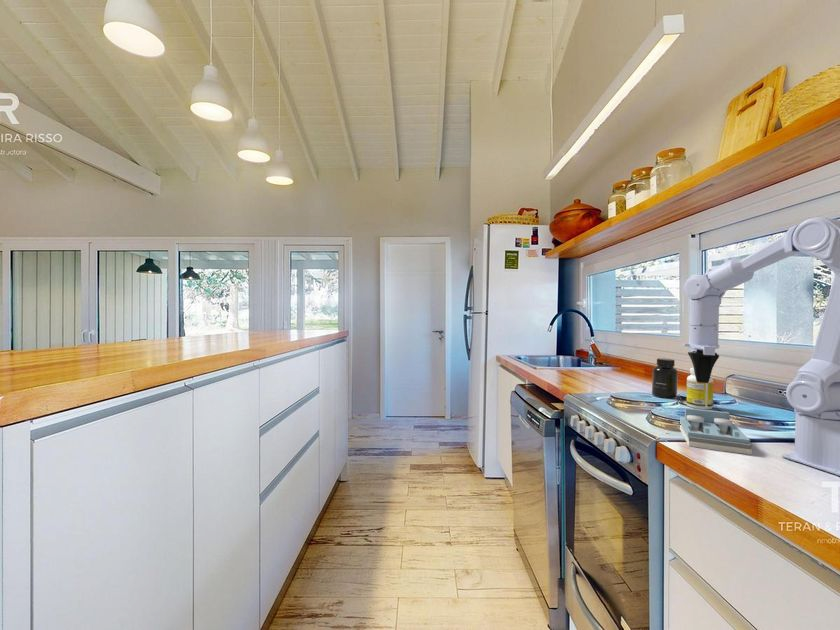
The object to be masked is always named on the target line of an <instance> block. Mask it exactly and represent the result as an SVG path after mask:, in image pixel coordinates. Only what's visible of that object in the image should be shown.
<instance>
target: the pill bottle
mask: <svg viewBox="0 0 840 630" xmlns="http://www.w3.org/2000/svg"><path fill="white" fill-rule="evenodd" d="M689 373H690V375H688V376H687V377H686V405H687V407H688V408H692V409H702V410H712V409H713V407H714V379H713V378H712V377H711V376H710V379H709V382H708V383H699V382H697V381H696V377H695V372H694V367H690V368H689Z"/></svg>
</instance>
